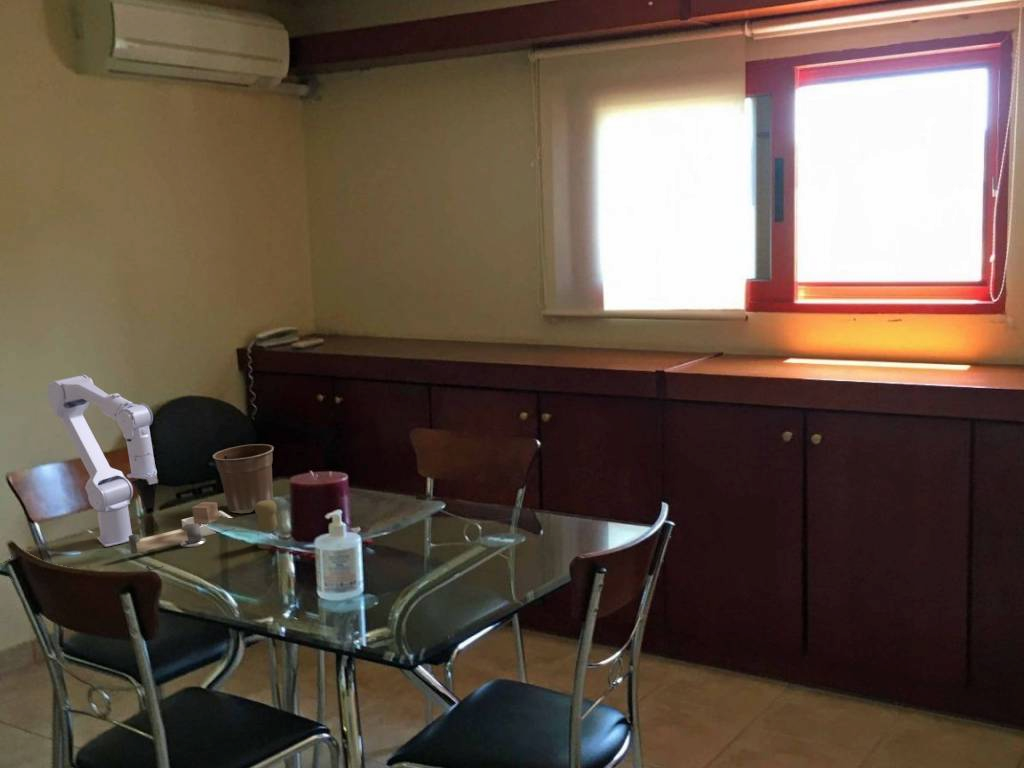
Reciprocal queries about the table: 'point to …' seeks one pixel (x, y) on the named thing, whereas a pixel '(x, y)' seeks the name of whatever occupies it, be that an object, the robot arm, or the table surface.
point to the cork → (266, 516)
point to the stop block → (205, 513)
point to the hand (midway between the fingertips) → (149, 507)
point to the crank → (165, 538)
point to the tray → (203, 529)
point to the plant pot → (246, 475)
